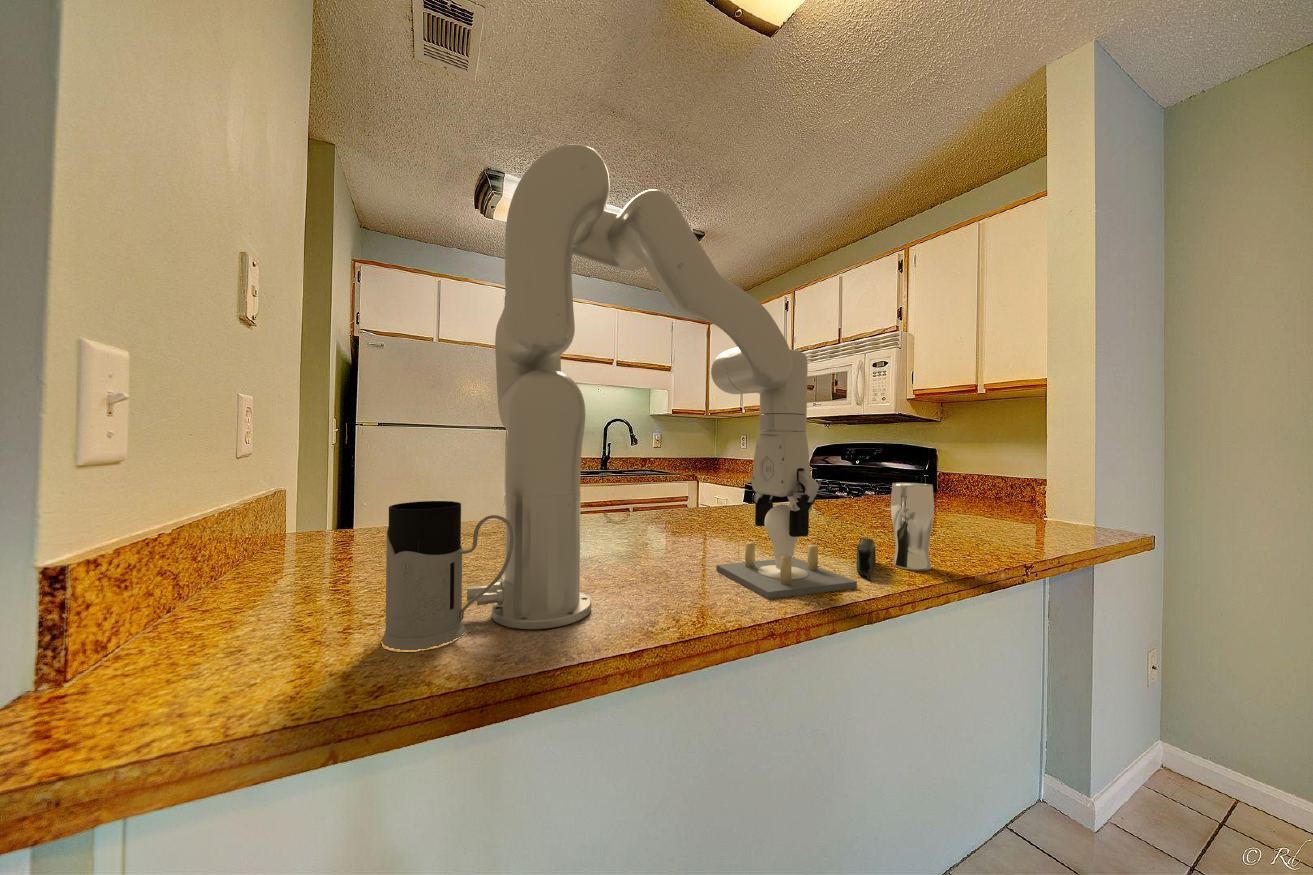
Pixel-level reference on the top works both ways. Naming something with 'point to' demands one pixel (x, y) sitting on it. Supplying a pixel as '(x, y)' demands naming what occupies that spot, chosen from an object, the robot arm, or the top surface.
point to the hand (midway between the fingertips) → (780, 530)
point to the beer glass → (912, 524)
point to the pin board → (785, 590)
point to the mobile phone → (866, 557)
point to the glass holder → (427, 574)
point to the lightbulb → (780, 532)
